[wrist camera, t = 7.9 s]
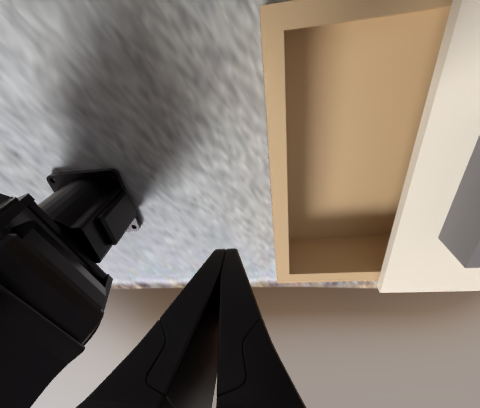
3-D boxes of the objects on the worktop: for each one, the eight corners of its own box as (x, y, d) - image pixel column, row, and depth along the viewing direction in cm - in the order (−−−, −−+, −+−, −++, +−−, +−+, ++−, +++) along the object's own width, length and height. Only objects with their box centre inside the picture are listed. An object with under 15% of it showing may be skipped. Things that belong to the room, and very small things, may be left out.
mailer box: (274, 241, 25) (277, 283, 20) (259, 15, 15) (259, 5, 11) (428, 234, 23) (465, 278, 19) (525, -27, 13) (647, -58, 9)
